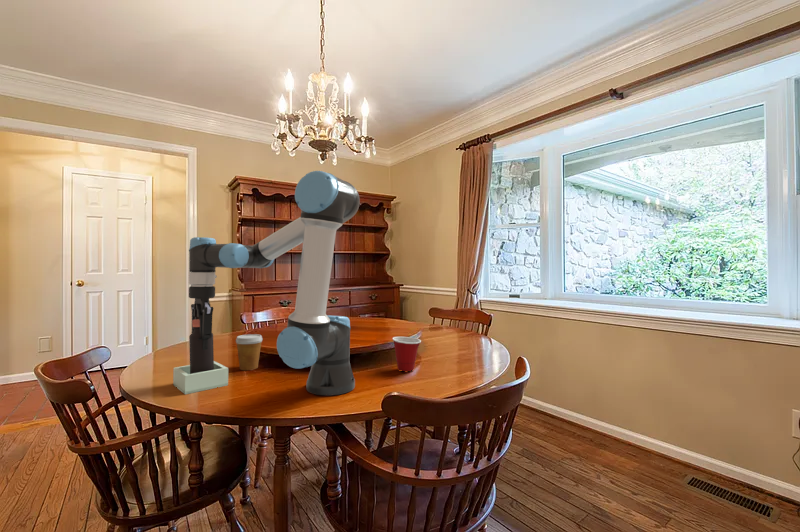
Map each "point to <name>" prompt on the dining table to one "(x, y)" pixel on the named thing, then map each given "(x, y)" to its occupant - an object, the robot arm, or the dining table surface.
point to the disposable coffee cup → (248, 351)
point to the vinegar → (200, 351)
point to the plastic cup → (406, 352)
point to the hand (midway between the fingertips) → (200, 358)
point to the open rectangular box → (199, 378)
